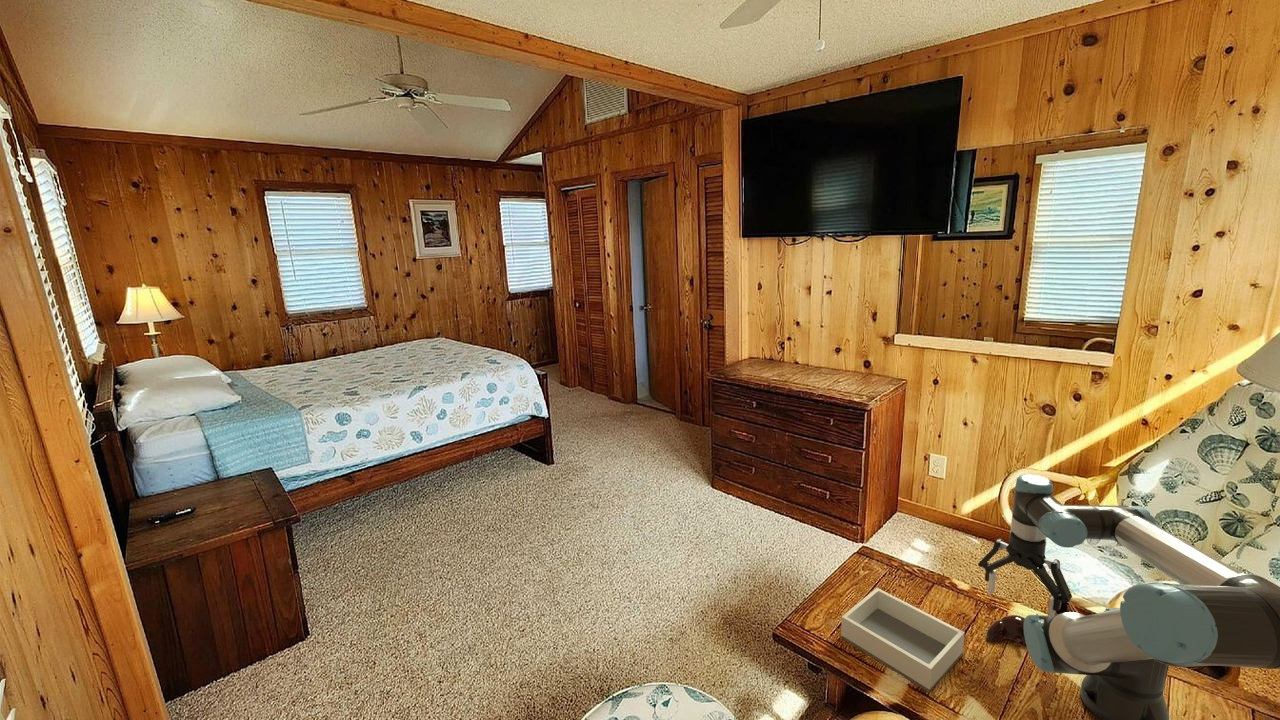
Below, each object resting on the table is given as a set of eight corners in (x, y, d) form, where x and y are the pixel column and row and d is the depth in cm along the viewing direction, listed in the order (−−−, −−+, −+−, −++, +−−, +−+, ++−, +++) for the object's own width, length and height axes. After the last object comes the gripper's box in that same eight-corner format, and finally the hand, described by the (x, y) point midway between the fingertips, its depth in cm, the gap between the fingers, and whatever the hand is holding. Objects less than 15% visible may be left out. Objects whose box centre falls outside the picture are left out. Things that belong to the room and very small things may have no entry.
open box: (962, 654, 141) (964, 632, 140) (929, 692, 131) (931, 669, 129) (876, 607, 160) (876, 587, 158) (841, 638, 150) (841, 616, 148)
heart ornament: (1030, 638, 148) (1043, 644, 139) (981, 640, 152) (991, 645, 142) (1022, 612, 151) (1035, 616, 141) (974, 614, 154) (984, 618, 145)
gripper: (1095, 549, 129) (1083, 623, 134) (980, 510, 148) (974, 576, 154) (1084, 562, 125) (1073, 638, 130) (968, 520, 144) (962, 588, 149)
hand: (1019, 605), depth 142 cm, fingers open, 13 cm apart
